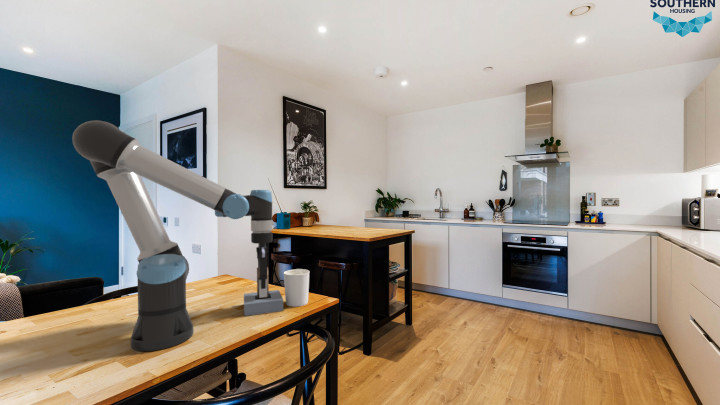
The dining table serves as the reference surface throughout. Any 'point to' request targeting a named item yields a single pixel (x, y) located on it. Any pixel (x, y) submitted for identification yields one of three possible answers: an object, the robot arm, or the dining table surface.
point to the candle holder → (296, 287)
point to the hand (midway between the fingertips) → (262, 295)
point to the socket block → (262, 303)
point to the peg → (258, 285)
